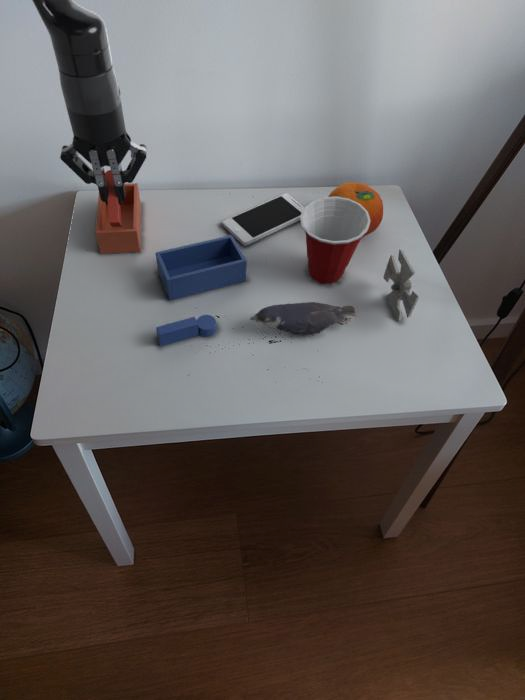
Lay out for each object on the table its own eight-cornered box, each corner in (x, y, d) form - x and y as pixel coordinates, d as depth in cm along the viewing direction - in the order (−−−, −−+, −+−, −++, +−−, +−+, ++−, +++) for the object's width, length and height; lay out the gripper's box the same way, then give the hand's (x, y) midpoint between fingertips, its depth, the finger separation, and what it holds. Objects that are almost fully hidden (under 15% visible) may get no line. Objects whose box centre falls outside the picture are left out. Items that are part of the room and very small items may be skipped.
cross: (411, 330, 81) (431, 286, 73) (396, 332, 81) (414, 288, 73) (387, 284, 87) (403, 238, 79) (373, 286, 87) (387, 240, 79)
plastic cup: (284, 256, 90) (291, 199, 80) (341, 247, 92) (354, 190, 83) (304, 300, 84) (314, 244, 74) (364, 289, 86) (382, 234, 76)
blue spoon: (162, 350, 76) (160, 338, 74) (156, 335, 78) (154, 323, 76) (218, 333, 79) (218, 322, 76) (212, 319, 80) (212, 308, 78)
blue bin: (169, 300, 82) (167, 280, 78) (158, 273, 86) (155, 252, 82) (245, 281, 86) (246, 260, 82) (231, 255, 89) (232, 234, 86)
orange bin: (140, 251, 89) (136, 231, 85) (100, 253, 88) (95, 232, 84) (140, 204, 96) (137, 183, 93) (104, 205, 96) (99, 184, 92)
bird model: (356, 335, 80) (362, 314, 76) (251, 344, 78) (252, 323, 74) (349, 314, 83) (355, 293, 79) (247, 321, 80) (248, 300, 76)
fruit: (310, 223, 96) (316, 187, 89) (348, 203, 100) (356, 167, 94) (350, 255, 91) (360, 218, 85) (389, 232, 95) (400, 196, 89)
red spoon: (125, 226, 86) (123, 222, 83) (107, 227, 86) (104, 222, 83) (122, 173, 86) (119, 167, 83) (104, 173, 86) (100, 167, 83)
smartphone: (221, 224, 94) (221, 220, 93) (286, 196, 100) (286, 192, 99) (244, 246, 91) (244, 242, 90) (309, 215, 97) (310, 211, 96)
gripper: (38, 113, 68) (70, 217, 82) (141, 112, 70) (156, 214, 84) (45, 85, 73) (74, 189, 87) (142, 85, 74) (156, 187, 88)
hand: (114, 201), depth 85 cm, fingers closed on red spoon, 1 cm apart
